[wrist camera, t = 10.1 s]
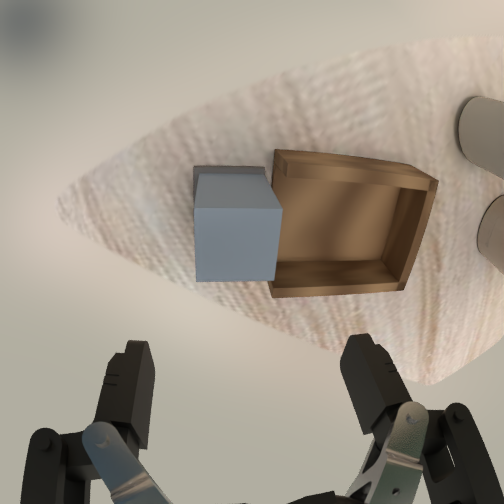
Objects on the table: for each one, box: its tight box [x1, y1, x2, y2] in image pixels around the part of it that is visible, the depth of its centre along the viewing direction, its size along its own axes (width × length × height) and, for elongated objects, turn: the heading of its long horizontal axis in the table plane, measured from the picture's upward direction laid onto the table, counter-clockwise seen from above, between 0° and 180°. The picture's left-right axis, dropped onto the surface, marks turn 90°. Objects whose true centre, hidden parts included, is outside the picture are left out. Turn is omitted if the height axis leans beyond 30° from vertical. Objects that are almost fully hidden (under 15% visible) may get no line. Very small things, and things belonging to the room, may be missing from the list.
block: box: [194, 173, 283, 282], centre depth 21 cm, size 5×5×7 cm
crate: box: [268, 149, 439, 298], centre depth 24 cm, size 13×11×4 cm
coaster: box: [194, 166, 265, 204], centre depth 24 cm, size 6×6×1 cm
